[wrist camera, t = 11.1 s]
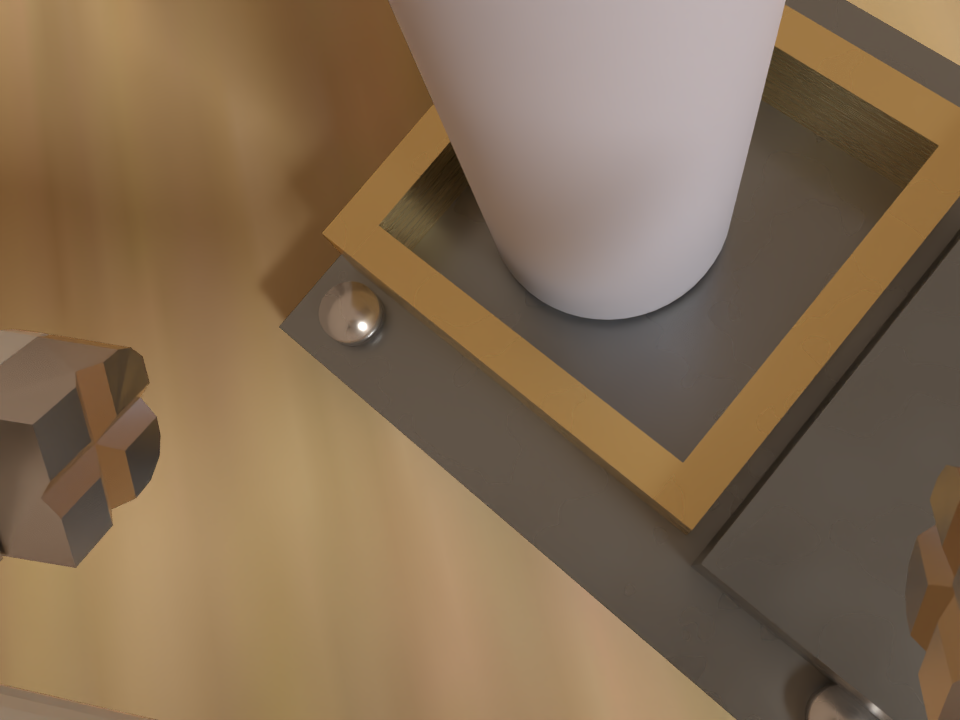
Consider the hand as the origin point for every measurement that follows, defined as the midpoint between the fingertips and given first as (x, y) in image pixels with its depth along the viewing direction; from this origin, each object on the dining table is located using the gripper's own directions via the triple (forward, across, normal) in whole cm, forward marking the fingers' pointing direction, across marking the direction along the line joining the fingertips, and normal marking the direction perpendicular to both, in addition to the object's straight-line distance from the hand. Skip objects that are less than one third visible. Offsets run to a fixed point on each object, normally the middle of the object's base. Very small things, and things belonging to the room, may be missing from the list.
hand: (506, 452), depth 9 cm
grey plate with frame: (+15, +3, -6) cm, 17 cm away
